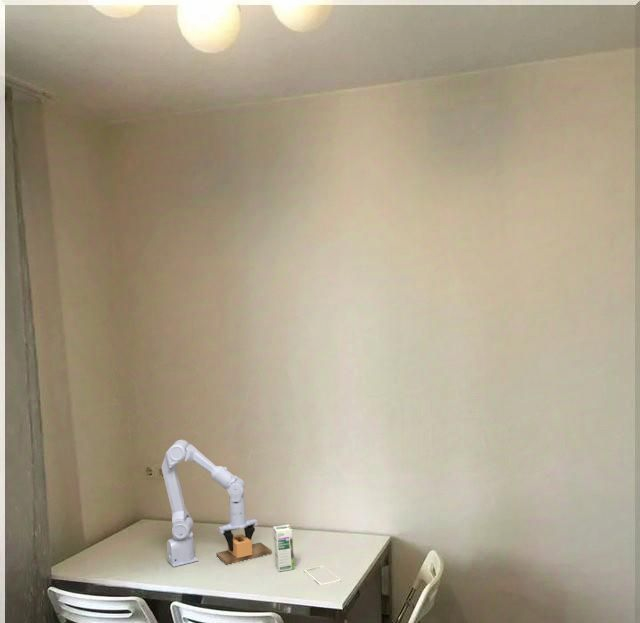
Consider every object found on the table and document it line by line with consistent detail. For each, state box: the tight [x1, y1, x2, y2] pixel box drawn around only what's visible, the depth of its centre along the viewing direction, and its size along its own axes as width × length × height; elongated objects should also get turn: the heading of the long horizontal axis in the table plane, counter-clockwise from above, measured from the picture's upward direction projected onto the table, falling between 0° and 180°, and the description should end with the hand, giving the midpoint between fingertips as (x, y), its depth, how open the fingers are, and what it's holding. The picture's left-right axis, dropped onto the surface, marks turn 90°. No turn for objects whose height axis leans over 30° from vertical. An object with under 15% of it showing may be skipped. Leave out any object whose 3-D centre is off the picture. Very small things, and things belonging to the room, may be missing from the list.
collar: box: [227, 534, 253, 558], centre depth 255 cm, size 6×9×5 cm, turn 29°
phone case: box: [303, 564, 341, 587], centre depth 234 cm, size 7×1×15 cm
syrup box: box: [272, 524, 295, 572], centre depth 243 cm, size 6×6×14 cm
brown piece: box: [215, 541, 273, 566], centre depth 257 cm, size 18×10×6 cm, turn 119°
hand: (239, 548), depth 255 cm, fingers closed on collar, 6 cm apart
